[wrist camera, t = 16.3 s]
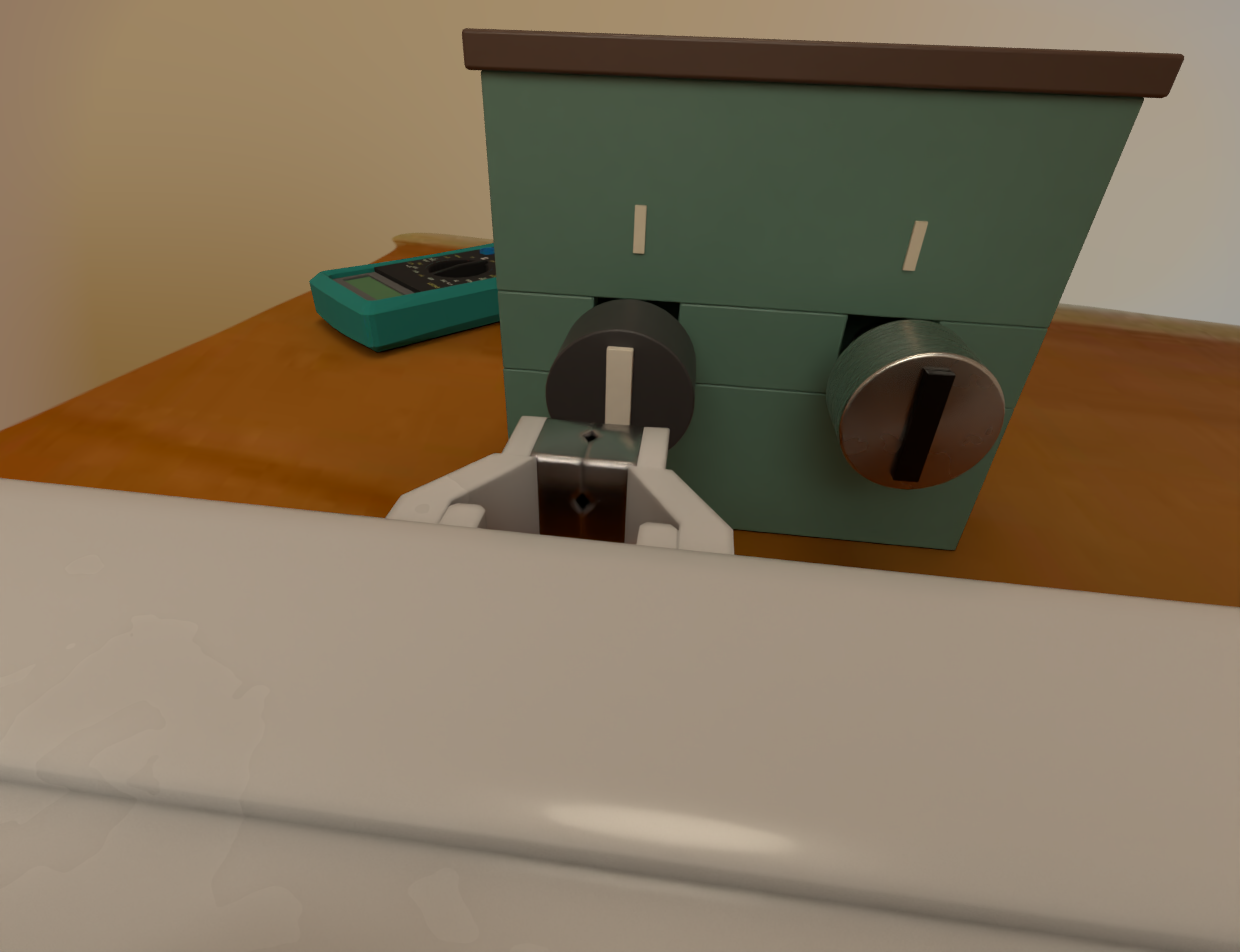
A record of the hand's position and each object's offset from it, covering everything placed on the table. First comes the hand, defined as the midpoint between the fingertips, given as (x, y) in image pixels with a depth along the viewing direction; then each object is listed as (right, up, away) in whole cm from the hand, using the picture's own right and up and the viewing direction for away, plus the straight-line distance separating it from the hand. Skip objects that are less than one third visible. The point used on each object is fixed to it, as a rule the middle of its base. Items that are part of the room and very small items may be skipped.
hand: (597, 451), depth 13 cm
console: (+4, -1, +11) cm, 12 cm away
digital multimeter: (-9, +9, +26) cm, 29 cm away
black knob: (+1, +1, +5) cm, 5 cm away
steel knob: (+8, +1, +5) cm, 9 cm away
